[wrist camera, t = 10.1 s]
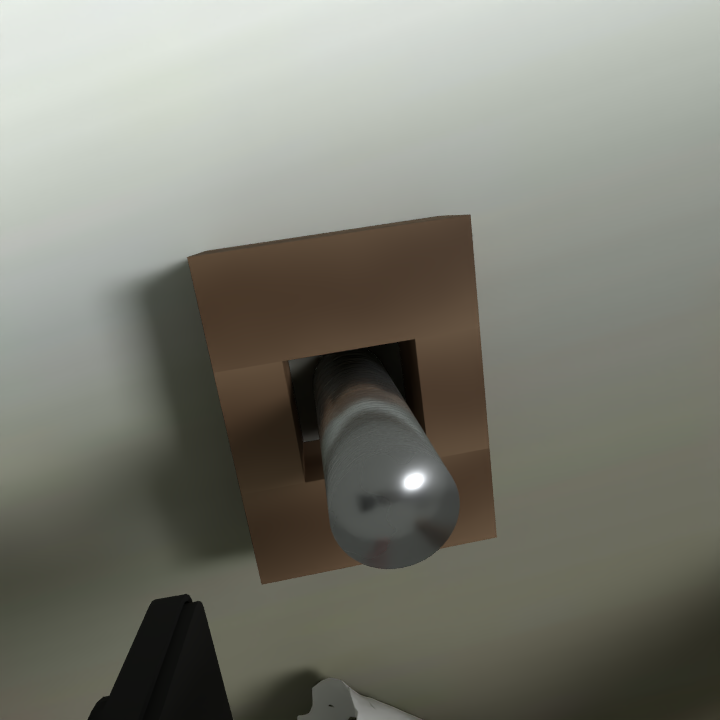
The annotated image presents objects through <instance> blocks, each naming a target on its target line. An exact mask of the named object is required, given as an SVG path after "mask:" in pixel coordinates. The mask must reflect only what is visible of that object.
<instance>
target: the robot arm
mask: <svg viewBox="0 0 720 720" xmlns="http://www.w3.org/2000/svg"><path fill="white" fill-rule="evenodd" d="M88 720H233V718H232V714H231V710H230V707H229V703H228V699H227V695H226V691H225V687H224V683H223V680H222V676H221V672H220V668H219V664H218V660H217V656H216V653H215V649H214V645H213V641H212V637H211V633H210V629H209V626H208V622H207V618H206V614H205V610H204V607H203V604H202V603H201V602H200V601H197V602H192V599H191V597H190V596H189V595H187V594H184V595H178V596H173V597H167V598H161V599H156V600H154V601H152V602H151V604H150V606H149V608H148V610H147V612H146V614H145V617H144V619H143V621H142V623H141V626H140V628H139V630H138V632H137V635H136V637H135V639H134V642H133V644H132V646H131V648H130V651H129V653H128V655H127V657H126V660H125V662H124V664H123V666H122V669H121V671H120V673H119V675H118V678H117V680H116V682H115V684H114V687H113V689H112V691H111V693H110V696H106V697H103V698H101V699H100V700H99V701H98V702H97V703H96V705H95V706H94V708H93V710H92V711H91V713H90V716H89V718H88Z"/></svg>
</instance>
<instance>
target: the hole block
mask: <svg viewBox="0 0 720 720" xmlns="http://www.w3.org/2000/svg"><path fill="white" fill-rule="evenodd" d="M187 259H188V263H189V267H190V272H191V276H192V281H193V285H194V289H195V294H196V298H197V303H198V307H199V311H200V316H201V320H202V324H203V329H204V333H205V338H206V342H207V346H208V351H209V355H210V360H211V364H212V368H213V373H214V377H215V382H216V386H217V390H218V395H219V399H220V403H221V408H222V412H223V417H224V421H225V425H226V430H227V434H228V439H229V443H230V447H231V452H232V456H233V461H234V465H235V469H236V474H237V478H238V482H239V487H240V491H241V496H242V500H243V504H244V509H245V513H246V518H247V522H248V526H249V531H250V535H251V540H252V544H253V548H254V553H255V557H256V561H257V566H258V570H259V575H260V579H261V583H262V584H267V583H272V582H277V581H282V580H287V579H292V578H297V577H302V576H307V575H312V574H316V573H321V572H326V571H331V570H336V569H341V568H346V567H351V566H356V565H361V564H362V563H360V562H358V561H356V560H354V559H353V558H351V557H350V556H349V555H348V554H346V553H345V552H344V551H343V550H342V548H341V547H340V546H339V545H338V543H337V542H336V540H335V538H334V536H333V533H332V531H331V527H330V521H329V513H328V505H327V496H326V488H325V480H324V472H323V463H322V455H321V447H320V440H315V441H309V442H304V443H303V438H302V432H301V427H300V422H299V416H298V411H297V405H296V400H295V395H294V389H293V384H292V379H291V373H290V368H289V362H288V360H293V359H299V358H305V357H311V356H317V355H322V354H328V353H334V352H340V351H346V350H352V349H358V348H364V347H370V346H376V345H382V344H388V343H394V342H399V350H400V358H401V366H402V374H403V382H404V390H405V398H406V403H407V405H408V407H409V408H410V410H411V411H412V413H413V415H414V416H415V418H416V420H417V421H418V423H419V424H420V426H421V428H422V429H423V431H424V432H425V434H426V436H427V437H428V439H429V441H430V442H431V444H432V445H433V447H434V449H435V450H436V452H437V453H438V455H439V457H440V458H441V460H442V462H443V463H444V465H445V466H446V468H447V470H448V471H449V473H450V474H451V476H452V478H453V480H454V482H455V484H456V486H457V489H458V493H459V499H460V508H459V516H458V519H457V523H456V525H455V528H454V530H453V532H452V534H451V535H450V537H449V538H448V540H447V541H446V542H445V543H444V544H443V546H442V547H441V548H446V547H450V546H455V545H460V544H465V543H470V542H475V541H480V540H485V539H490V538H495V537H497V536H496V523H495V511H494V499H493V486H492V474H491V462H490V449H489V437H488V425H487V412H486V400H485V388H484V376H483V363H482V351H481V339H480V326H479V314H478V302H477V289H476V277H475V265H474V253H473V240H472V228H471V216H470V215H447V216H436V217H429V218H422V219H416V220H409V221H402V222H396V223H389V224H382V225H376V226H369V227H362V228H356V229H349V230H342V231H336V232H329V233H322V234H316V235H309V236H302V237H296V238H289V239H282V240H276V241H269V242H262V243H256V244H249V245H242V246H236V247H229V248H222V249H216V250H209V251H204V252H201V253H198V254H195V255H192V256H189V257H187ZM441 548H440V549H441Z"/></svg>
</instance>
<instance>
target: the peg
mask: <svg viewBox="0 0 720 720" xmlns="http://www.w3.org/2000/svg"><path fill="white" fill-rule="evenodd" d="M313 389H314V397H315V405H316V413H317V422H318V430H319V438H320V447H321V455H322V463H323V472H324V480H325V488H326V496H327V505H328V513H329V521H330V527H331V531H332V533H333V536H334V538H335V540H336V542H337V543H338V545H339V546H340V547H341V548H342V550H343V551H344V552H345V553H346V554H348V555H349V556H350V557H351V558H353V559H354V560H356V561H358V562H360V563H362V564H364V565H367V566H370V567H375V568H381V569H396V568H403V567H407V566H411V565H414V564H416V563H419V562H421V561H423V560H425V559H427V558H428V557H430V556H431V555H432V554H434V553H435V552H436V551H437V550H439V549H440V548H441V547H442V546H443V544H444V543H445V542H446V541H447V540H448V538H449V537H450V535H451V534H452V532H453V530H454V528H455V525H456V523H457V519H458V516H459V508H460V499H459V493H458V489H457V486H456V484H455V482H454V480H453V478H452V476H451V474H450V473H449V471H448V470H447V468H446V466H445V465H444V463H443V462H442V460H441V458H440V457H439V455H438V453H437V452H436V450H435V449H434V447H433V445H432V444H431V442H430V441H429V439H428V437H427V436H426V434H425V432H424V431H423V429H422V428H421V426H420V424H419V423H418V421H417V420H416V418H415V416H414V415H413V413H412V411H411V410H410V408H409V407H408V405H407V403H406V402H405V400H404V399H403V397H402V395H401V394H400V392H399V390H398V389H397V387H396V386H395V384H394V382H393V381H392V379H391V378H390V376H389V374H388V373H387V371H386V369H385V368H384V366H383V365H382V363H381V361H380V360H379V359H378V358H377V356H376V355H374V354H373V353H372V352H370V351H369V350H367V349H365V348H358V349H352V350H346V351H340V352H334V353H328V354H326V355H325V356H324V357H323V358H322V359H321V360H320V362H319V363H318V365H317V367H316V369H315V372H314V376H313Z"/></svg>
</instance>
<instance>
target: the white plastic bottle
mask: <svg viewBox="0 0 720 720" xmlns="http://www.w3.org/2000/svg"><path fill="white" fill-rule="evenodd" d="M311 689H312V700H313V706H312V708H311V710H310V712H309V713H308V714H305V715H298V717H297V720H348V719H349V718H350V717H356V720H423V719H421V718H418V717H416V716H414V715H411V714H409V713H406V712H404V711H402V710H399V709H397V708H395V707H393V706H390V705H388V704H385V703H382V702H380V701H378V700H375V699H373V698H371V697H366V696H363V695H360V694H359V693H357V692H356V691H354V690H353V689H351V688H350V687H349V686H348V685H347V684H346V683H344V682H343V681H342V680H340V679H336V678H331V677H329V678H327V679H324V680H322V681H320V682H319V683H318V684H317V685H315V686H314V687H313V688H311ZM328 705H333V706H334V707H330V706H328Z"/></svg>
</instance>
